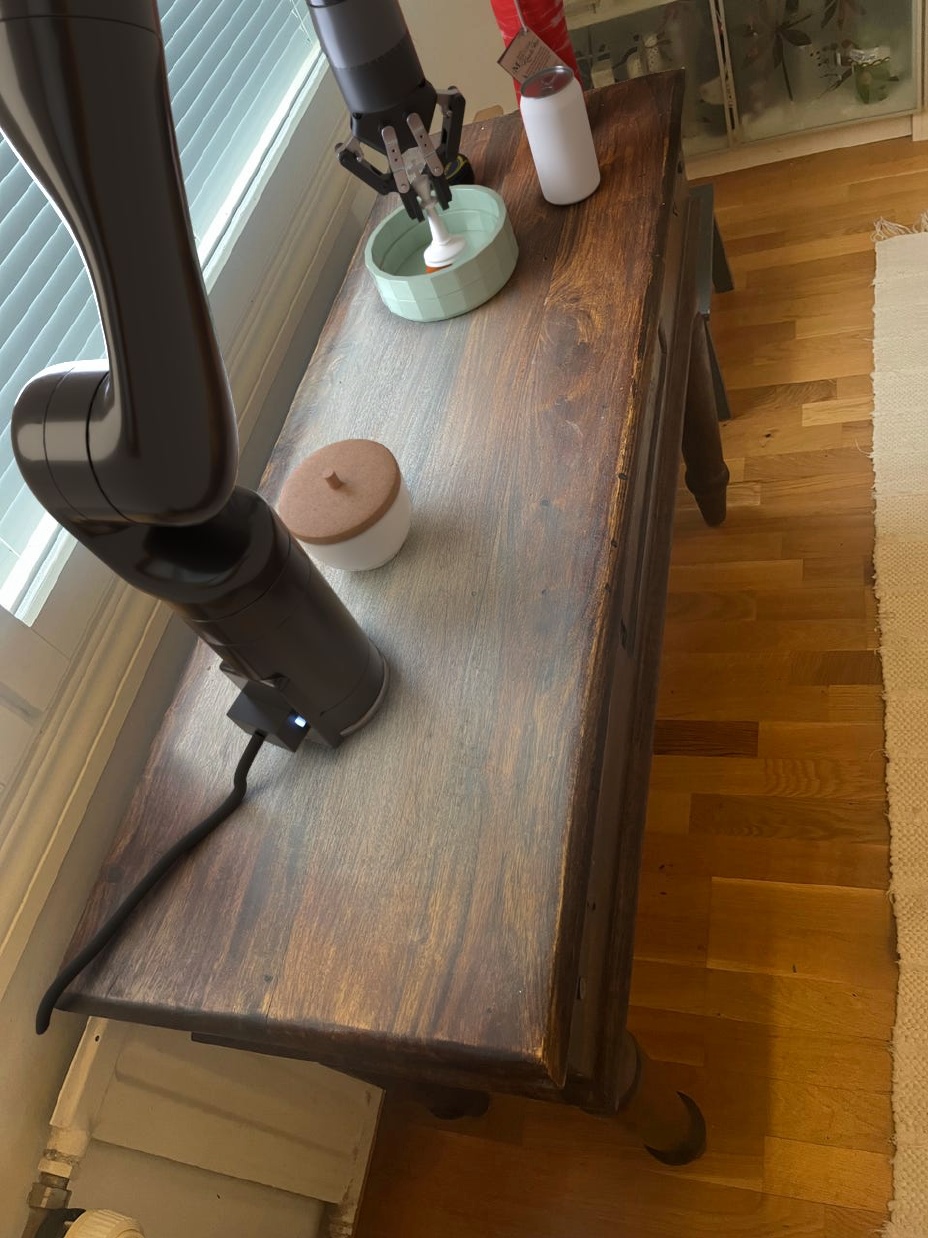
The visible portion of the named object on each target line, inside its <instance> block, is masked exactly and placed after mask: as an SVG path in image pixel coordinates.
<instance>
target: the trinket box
mask: <svg viewBox="0 0 928 1238" xmlns="http://www.w3.org/2000/svg"><path fill="white" fill-rule="evenodd" d="M411 497H412V496H411V494H410V490H409V488H408V484H407V481H406V480H405V477H404V475H403V473H402V472H401V469H400V465H399V462H398V461H397V459H396V457H395V456H394V454H393V452H392V451H391V450H390V449H389V448H388V447H387V446H385V445H384V444H383V443H381V442H377V441H375V440H371V439H367V438H350V439H349V438H348V439H344V440H340V441H336V442H332V443H331V444H328V445H326V446H324V447H322V448H320V449H317V450H316V451H314V452H313V453H311V454H310V455H309V456H307V457H306V458H304V460H302V461H301V462H300V463H299V464H298V465H296V467H295V468H294V469H293V470H292V472H291V473H290V474H289V476H288V477H287V479H286V480H285V482H284V484H283V486H282V489H281V491H280V494H279V499H278V515H279V517H280V518H281V519H282V521H283V522H284V523H285V525H286V526H287V527H288V529H289V530H290V531H291V533H292V534H293V535H294V537H295V538H296V539H297V541H298V542H299V544H300V545H301V546H302V548H303V549H304V551H305V552H306V553H309V554H310V555H311V556H312V557H313V558H314V559H316V560H317V561H318V562H320V563H322V564H323V565H325V566H327V567H330V568H332V569H335V570H340V571H345V572H359V571H360V572H361V571H362V572H365V571H372V570H375V569H378V568H380V567H382V566H384V565H386V564H388V563H389V562H390V561H391V560H393V559H394V558H395V557H396V556H397V554H398V553H399V552H400V550H401V549H402V547H403V545H404V543H405V541H406V540H407V537H408V535H409V532H410V529H411V525H412V522H413V521H412V520H413V504H412V499H411Z"/></svg>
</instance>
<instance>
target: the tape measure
mask: <svg viewBox="0 0 928 1238" xmlns="http://www.w3.org/2000/svg"><path fill="white" fill-rule="evenodd" d="M424 167H425V168H424V169H422V170H421V172H420V174H421V175H428V173H427V171H426V170H427V169H428V167H427V165H426V163H425V164H424ZM444 174H445V177H446V179H447V182H448V185H449V187H450V186H455V185H475V179H476V177H475V176H476V175H475V172H474V168H473V166H472V164H471V162H470V160H469V158H468V156H466V155H465V154H464V153H460V152H459V153H458V158H457V160H456V161H454V162H449V163H448V164H447V165H446V167H445V169H444ZM430 187H431V191H433V190H434V189H433V186H432V184H431V181H430ZM413 190H414V189H413ZM414 192H415V195H416V197H418V196H419V195H418V194H417V192H416V191H415V190H414Z"/></svg>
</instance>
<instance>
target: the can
mask: <svg viewBox="0 0 928 1238" xmlns="http://www.w3.org/2000/svg"><path fill="white" fill-rule="evenodd" d="M520 94H521V101H520V110H521V114H522V118H523V121H522V123H523V122H524V125H525V128H524V130H525V132H526V133H525V134H526V136H527V140H528V143H529V147H530V151H531V154H532V155H531V156H532V159H533V162H534V166H535V169H536V170H535V171H536V173H537V177H538V180H539V184H540V187H541V191H542V194H543V197H544V199H545V200H546V201H547V202H549V203H550V204H552V205H554V206H562V207H563V206H571V205H575V204H577V203H580V202H582V201H584V200H586V199H587V198H590V196H592V195H593V194H594V192H595V191H596V190H597V189H598V186H599V185H600V182H601V173H600V168H599V164H598V163H599V162H598V159H597V154H596V149H595V145H594V140H593V135H592V131H591V126H590V121H589V118H588V117H589V116H588V111H587V109H586V107H587V106H586V107H585V102H586V101H585V102H584V98H583V93H582V89H581V86H580V84H579V82H578V81H577V79H576V78H575V77H574V72H573V70H572V69H571V68H570V67H567V66H552V67H548V68H545V69H542V70H540V71H537V72H536V73H534V74H532V75H531V76H529V77H528V78H527V79H526V80H525V81H524V82H523V83H522V85H521V87H520ZM521 114H520V115H521ZM522 118H521V119H522ZM524 125H523V126H524Z"/></svg>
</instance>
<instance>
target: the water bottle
mask: <svg viewBox="0 0 928 1238" xmlns="http://www.w3.org/2000/svg"><path fill="white" fill-rule="evenodd" d="M489 3H490V5H491V9H492V12H493V16H494V17H495V19H496V24H497V26H498V29H499V31H500V34H501V37H502V40H503V43H504V47H505V49H504V51H503V52H502V54H501V55H500V57H499V58H498V59H497V60H496V63H497V64H498V65H499V66H500V67H501V68H502V69H503V70H504V71H505V72H506V73H508V74H509V75H510V76H511V77H512V81H513V87H514V92H515V97H516V103H517V107H518V112H519V114H520V117H521V121H522V124H523V128H524V129H525V125H524V122H523V118H522V114H521V110H520V101H521V94H520V87H521V85H522V83H523V82H524V81H525V80H526V79H527V78H528V77H529V76H531V75H532V74H534V73H536V72H537V71H540V70H542V69H545V68H548V67H552V66H567V67H570V68H571V69H572V70H573V72H574V77H575V78H576V79H577V81H578V82H579V84H580V86H581V89H582V93H583V98H584V102H585V107H586V110H587V109H588V108H587V102H586V97H585V92H584V87H583V82H582V77H581V74H580V70H579V66H578V62H577V59H576V56H575V55H576V54H575V52H574V49H573V45H572V41H571V38H570V34H569V29H568V25H567V20H566V14H565V7H564V0H489Z"/></svg>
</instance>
